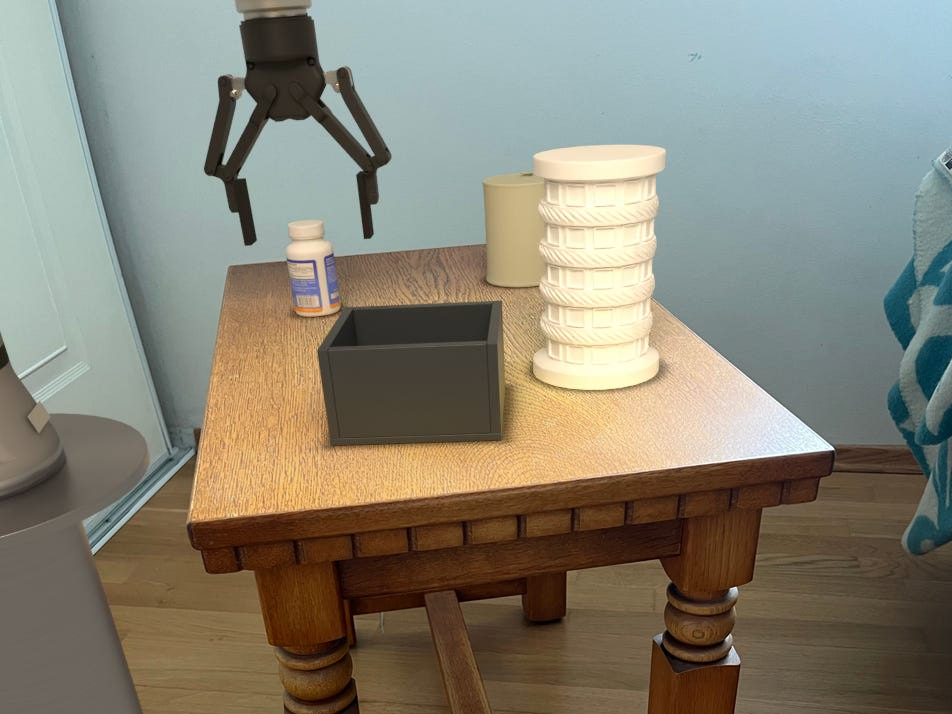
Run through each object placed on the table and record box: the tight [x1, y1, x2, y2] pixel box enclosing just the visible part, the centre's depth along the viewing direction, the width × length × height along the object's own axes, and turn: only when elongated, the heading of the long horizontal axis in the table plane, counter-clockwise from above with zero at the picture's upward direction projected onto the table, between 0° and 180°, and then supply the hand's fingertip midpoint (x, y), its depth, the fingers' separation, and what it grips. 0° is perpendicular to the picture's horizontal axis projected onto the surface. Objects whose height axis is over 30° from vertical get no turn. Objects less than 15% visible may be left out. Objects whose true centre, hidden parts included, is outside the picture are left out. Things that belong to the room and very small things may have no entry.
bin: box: [316, 300, 506, 447], centre depth 77 cm, size 14×13×8 cm
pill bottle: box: [285, 219, 341, 318], centre depth 108 cm, size 5×5×10 cm
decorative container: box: [532, 144, 667, 391], centre depth 82 cm, size 12×12×18 cm
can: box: [482, 171, 545, 288], centre depth 115 cm, size 9×9×12 cm
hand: (309, 240), depth 106 cm, fingers open, 13 cm apart
